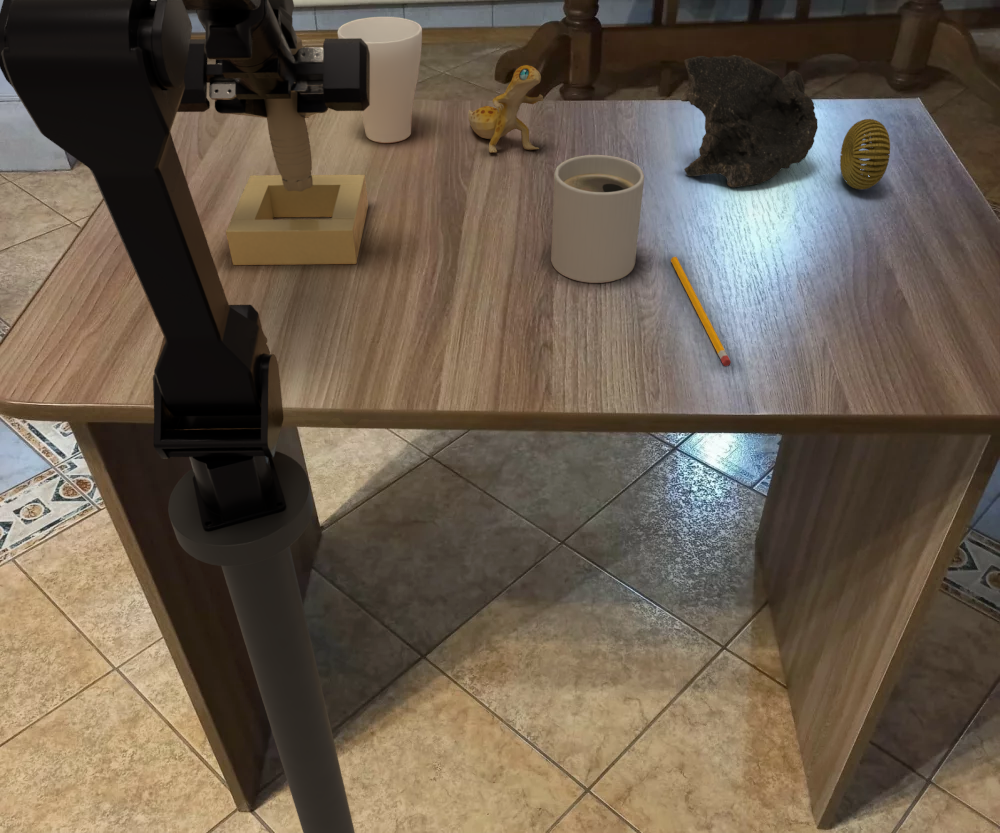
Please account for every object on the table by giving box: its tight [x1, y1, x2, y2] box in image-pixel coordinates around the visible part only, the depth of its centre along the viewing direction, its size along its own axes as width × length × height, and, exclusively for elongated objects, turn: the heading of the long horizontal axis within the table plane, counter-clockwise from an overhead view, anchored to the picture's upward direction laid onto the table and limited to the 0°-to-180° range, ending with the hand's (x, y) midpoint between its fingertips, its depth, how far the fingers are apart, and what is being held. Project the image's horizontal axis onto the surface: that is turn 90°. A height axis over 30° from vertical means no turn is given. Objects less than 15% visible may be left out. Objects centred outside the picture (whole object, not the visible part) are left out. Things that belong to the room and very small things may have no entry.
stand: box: [225, 174, 369, 266], centre depth 99 cm, size 13×13×4 cm
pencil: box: [670, 256, 732, 367], centre depth 88 cm, size 1×18×1 cm, turn 7°
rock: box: [680, 54, 819, 188], centre depth 111 cm, size 17×12×15 cm
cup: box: [336, 16, 423, 144], centre depth 116 cm, size 10×10×14 cm
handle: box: [264, 35, 313, 192], centre depth 92 cm, size 5×6×15 cm
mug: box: [550, 154, 645, 284], centre depth 93 cm, size 11×10×10 cm
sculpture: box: [839, 118, 891, 190], centre depth 106 cm, size 8×4×8 cm, turn 179°
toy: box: [467, 64, 544, 154], centre depth 116 cm, size 7×15×10 cm, turn 44°
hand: (288, 113), depth 92 cm, fingers closed on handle, 3 cm apart
